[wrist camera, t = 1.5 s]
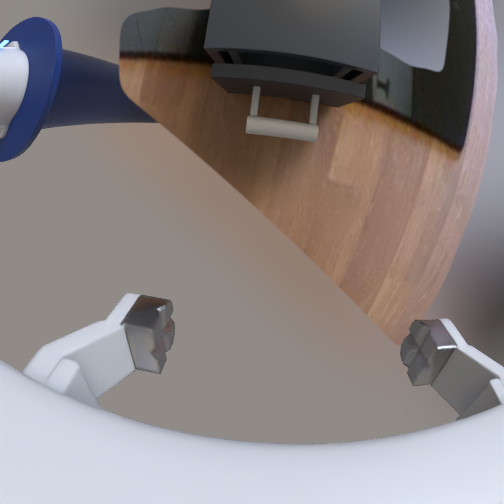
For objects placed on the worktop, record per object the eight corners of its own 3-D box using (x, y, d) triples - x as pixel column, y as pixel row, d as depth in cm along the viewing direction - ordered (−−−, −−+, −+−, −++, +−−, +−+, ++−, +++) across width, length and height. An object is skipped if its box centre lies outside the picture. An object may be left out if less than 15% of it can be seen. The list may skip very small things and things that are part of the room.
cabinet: (342, 91, 25) (378, 73, 15) (225, 75, 25) (203, 48, 15) (349, -10, 19) (376, -53, 9) (241, -25, 19) (229, -74, 9)
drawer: (332, 145, 27) (357, 151, 19) (223, 131, 27) (204, 130, 19) (345, 5, 19) (369, -29, 11) (242, -9, 19) (232, -49, 11)
